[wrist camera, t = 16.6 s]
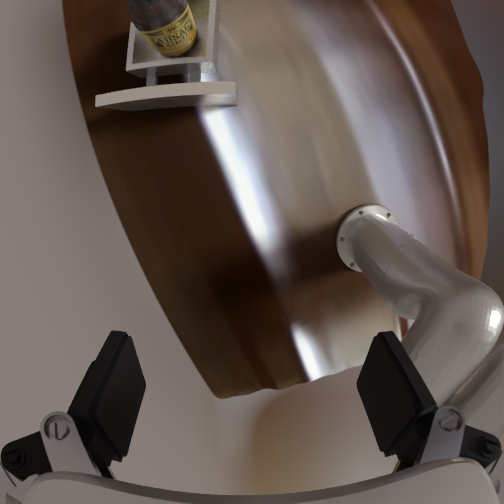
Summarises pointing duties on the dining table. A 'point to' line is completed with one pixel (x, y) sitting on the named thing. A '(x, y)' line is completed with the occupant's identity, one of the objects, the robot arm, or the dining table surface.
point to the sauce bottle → (164, 25)
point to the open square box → (175, 69)
